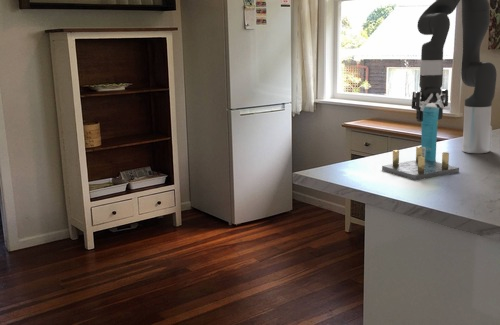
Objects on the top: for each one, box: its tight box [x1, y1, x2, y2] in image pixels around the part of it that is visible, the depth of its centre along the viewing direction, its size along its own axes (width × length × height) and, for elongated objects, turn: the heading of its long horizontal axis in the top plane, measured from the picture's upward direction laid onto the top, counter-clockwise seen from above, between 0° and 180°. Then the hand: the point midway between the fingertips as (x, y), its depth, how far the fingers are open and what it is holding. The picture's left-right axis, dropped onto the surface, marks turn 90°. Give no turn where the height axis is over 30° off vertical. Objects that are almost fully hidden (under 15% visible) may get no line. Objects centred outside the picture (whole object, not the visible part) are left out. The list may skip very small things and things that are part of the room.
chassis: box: [381, 146, 460, 181], centre depth 176 cm, size 18×16×6 cm
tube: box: [420, 105, 439, 162], centre depth 189 cm, size 7×5×19 cm, turn 39°
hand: (429, 120), depth 188 cm, fingers open, 8 cm apart
